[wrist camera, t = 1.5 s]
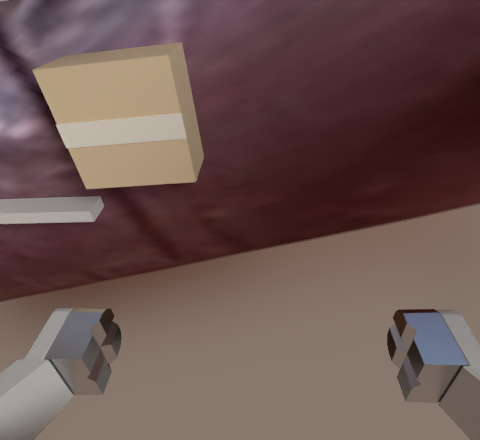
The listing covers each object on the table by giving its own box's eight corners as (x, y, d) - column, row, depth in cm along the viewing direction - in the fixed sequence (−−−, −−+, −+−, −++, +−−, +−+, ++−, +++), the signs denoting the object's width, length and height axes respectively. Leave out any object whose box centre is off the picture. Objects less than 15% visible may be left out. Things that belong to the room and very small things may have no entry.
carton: (183, 41, 24) (168, 55, 20) (205, 155, 29) (196, 182, 26) (64, 55, 25) (30, 70, 21) (107, 162, 30) (85, 190, 27)
